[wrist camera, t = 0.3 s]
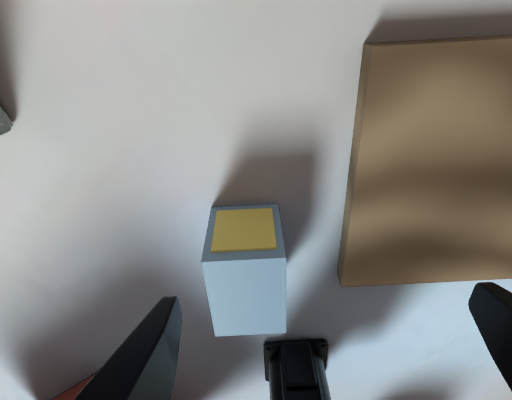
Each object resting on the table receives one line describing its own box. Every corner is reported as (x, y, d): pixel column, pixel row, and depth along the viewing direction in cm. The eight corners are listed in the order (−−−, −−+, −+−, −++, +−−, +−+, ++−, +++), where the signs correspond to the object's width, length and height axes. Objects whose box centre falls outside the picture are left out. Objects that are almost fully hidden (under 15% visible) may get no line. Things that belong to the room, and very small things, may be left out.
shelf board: (525, 264, 27) (548, 286, 25) (337, 274, 27) (344, 296, 25) (651, 27, 18) (705, 29, 16) (363, 43, 18) (379, 48, 16)
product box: (279, 271, 27) (286, 333, 22) (221, 274, 27) (215, 336, 22) (278, 201, 24) (286, 255, 18) (210, 205, 24) (200, 260, 18)
